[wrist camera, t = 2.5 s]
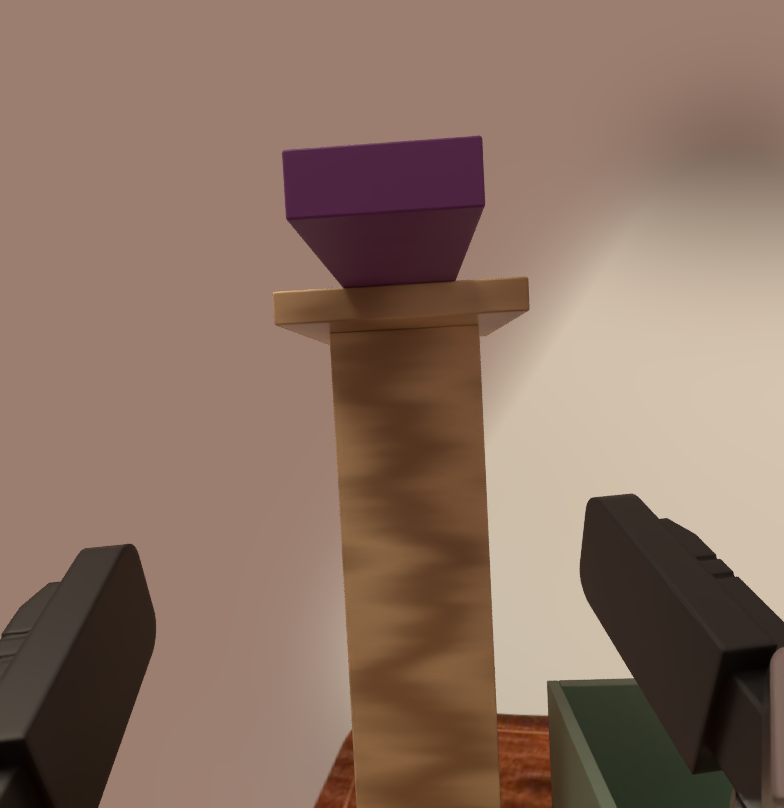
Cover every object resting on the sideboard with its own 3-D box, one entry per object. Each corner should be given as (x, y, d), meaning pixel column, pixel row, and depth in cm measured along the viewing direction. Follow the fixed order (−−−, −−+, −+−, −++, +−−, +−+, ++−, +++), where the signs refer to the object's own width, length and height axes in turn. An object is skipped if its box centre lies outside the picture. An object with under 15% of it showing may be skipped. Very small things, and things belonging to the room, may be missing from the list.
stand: (324, 1140, 21) (271, 291, 20) (358, 866, 33) (326, 323, 32) (564, 1144, 21) (528, 276, 20) (511, 865, 33) (486, 314, 31)
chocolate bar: (485, 206, 11) (482, 134, 11) (285, 219, 11) (281, 148, 11) (442, 316, 31) (440, 290, 31) (369, 320, 31) (368, 294, 31)
